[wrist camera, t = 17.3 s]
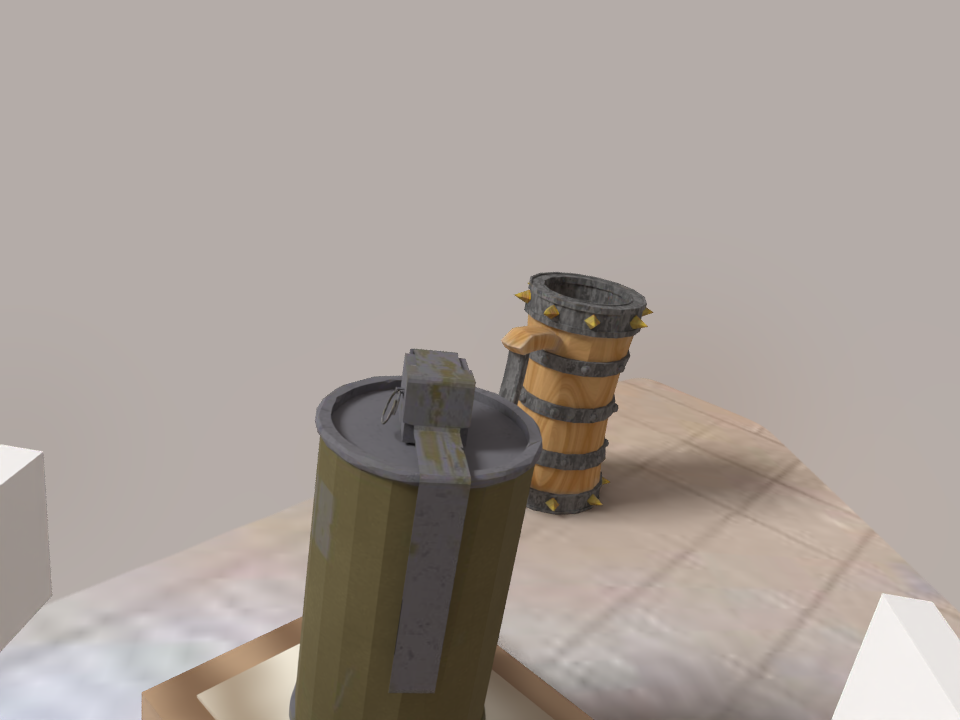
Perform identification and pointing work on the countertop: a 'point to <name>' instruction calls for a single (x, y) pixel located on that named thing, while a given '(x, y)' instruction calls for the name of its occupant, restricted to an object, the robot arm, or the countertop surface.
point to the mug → (570, 379)
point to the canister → (411, 544)
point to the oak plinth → (272, 676)
